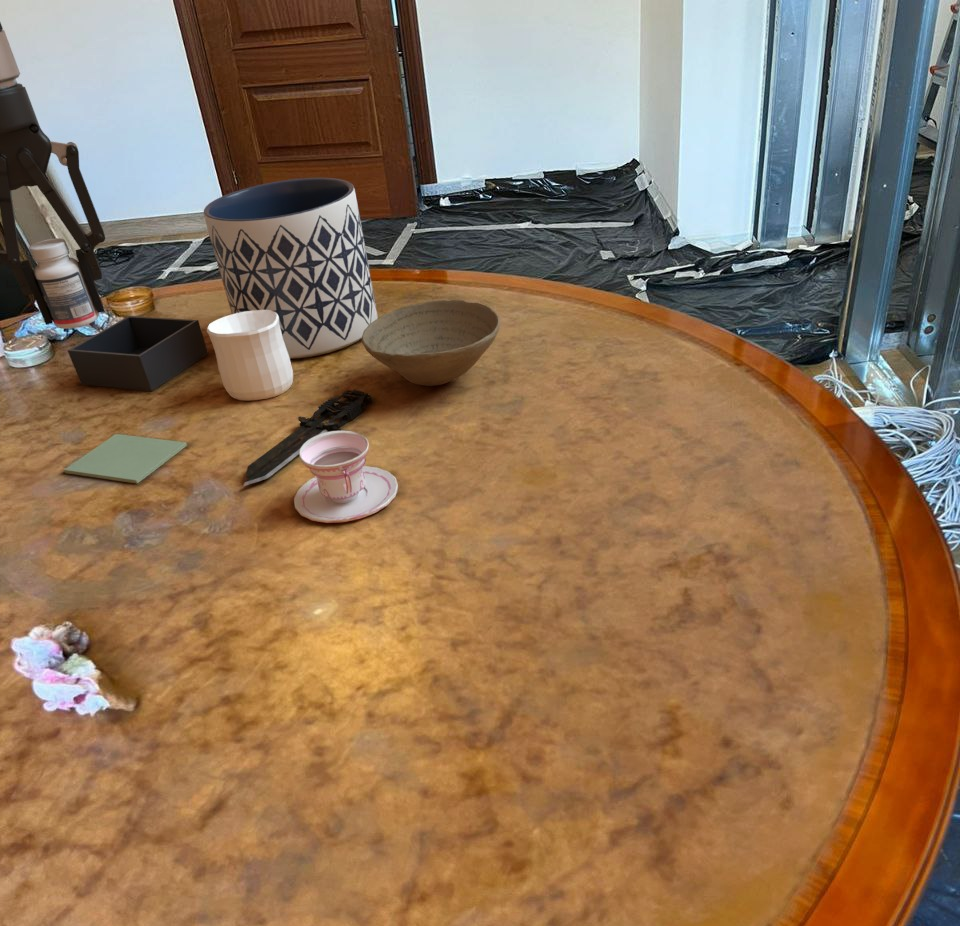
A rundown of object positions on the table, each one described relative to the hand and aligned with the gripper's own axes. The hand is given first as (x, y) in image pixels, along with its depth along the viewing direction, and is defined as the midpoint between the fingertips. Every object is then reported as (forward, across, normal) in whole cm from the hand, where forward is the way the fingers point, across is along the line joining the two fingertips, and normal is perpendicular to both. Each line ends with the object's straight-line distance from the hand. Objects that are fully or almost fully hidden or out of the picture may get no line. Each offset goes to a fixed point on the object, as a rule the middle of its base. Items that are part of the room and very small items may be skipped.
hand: (74, 314), depth 105 cm
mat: (+18, 0, -2) cm, 18 cm away
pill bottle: (+1, 0, 0) cm, 1 cm away
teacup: (+18, +22, -28) cm, 40 cm away
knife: (+18, +22, -11) cm, 31 cm away
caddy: (+18, +5, +28) cm, 34 cm away
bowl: (+18, +42, -4) cm, 46 cm away
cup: (+18, +20, +9) cm, 28 cm away
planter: (+18, +31, +26) cm, 45 cm away
